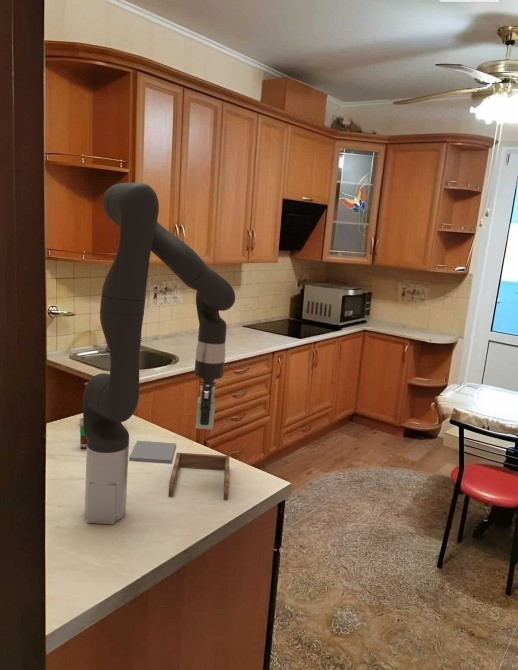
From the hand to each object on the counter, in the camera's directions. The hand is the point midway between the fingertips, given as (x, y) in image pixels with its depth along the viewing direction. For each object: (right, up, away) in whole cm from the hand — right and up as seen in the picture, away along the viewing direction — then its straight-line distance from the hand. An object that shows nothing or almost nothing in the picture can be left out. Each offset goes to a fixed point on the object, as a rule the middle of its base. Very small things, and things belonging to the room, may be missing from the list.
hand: (204, 420), depth 136 cm
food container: (-35, -11, +21) cm, 43 cm away
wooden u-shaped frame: (-2, -17, +4) cm, 18 cm away
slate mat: (-17, -13, +18) cm, 28 cm away
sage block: (0, -1, 0) cm, 1 cm away
